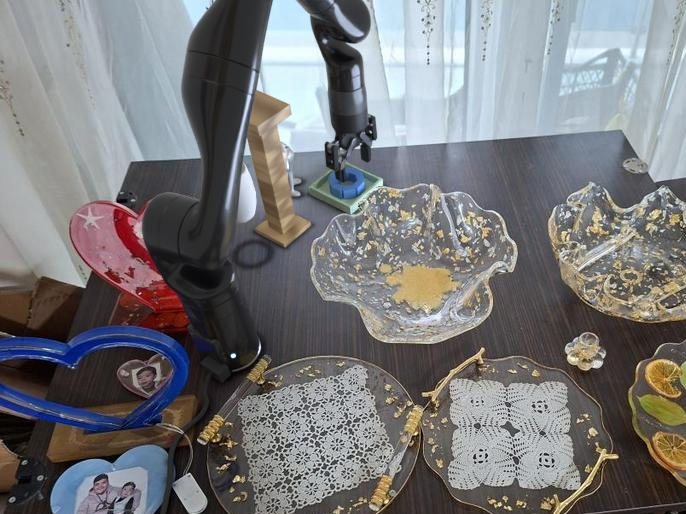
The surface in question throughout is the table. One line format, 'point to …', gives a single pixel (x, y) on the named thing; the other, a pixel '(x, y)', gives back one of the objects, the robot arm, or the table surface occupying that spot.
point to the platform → (273, 171)
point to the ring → (350, 190)
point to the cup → (246, 197)
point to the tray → (349, 205)
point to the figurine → (290, 169)
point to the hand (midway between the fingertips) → (354, 170)
